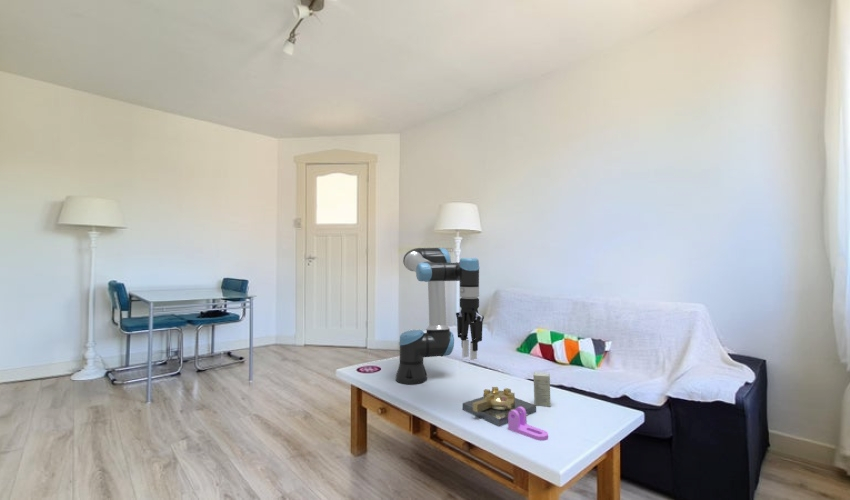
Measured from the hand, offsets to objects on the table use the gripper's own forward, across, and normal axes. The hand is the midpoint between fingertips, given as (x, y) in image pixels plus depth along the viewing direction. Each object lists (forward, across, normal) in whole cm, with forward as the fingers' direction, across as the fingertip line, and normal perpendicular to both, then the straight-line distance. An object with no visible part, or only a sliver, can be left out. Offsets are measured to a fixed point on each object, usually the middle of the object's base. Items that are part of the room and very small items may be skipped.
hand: (469, 357), depth 150 cm
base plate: (+21, +8, +10) cm, 24 cm away
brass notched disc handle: (+18, +7, +6) cm, 20 cm away
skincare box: (+21, +12, +28) cm, 37 cm away
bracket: (+21, +26, +4) cm, 33 cm away
